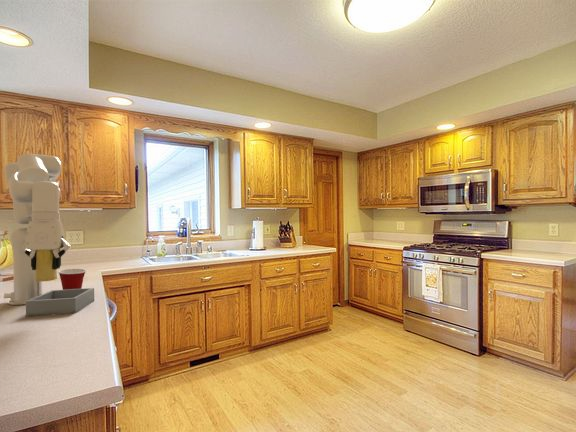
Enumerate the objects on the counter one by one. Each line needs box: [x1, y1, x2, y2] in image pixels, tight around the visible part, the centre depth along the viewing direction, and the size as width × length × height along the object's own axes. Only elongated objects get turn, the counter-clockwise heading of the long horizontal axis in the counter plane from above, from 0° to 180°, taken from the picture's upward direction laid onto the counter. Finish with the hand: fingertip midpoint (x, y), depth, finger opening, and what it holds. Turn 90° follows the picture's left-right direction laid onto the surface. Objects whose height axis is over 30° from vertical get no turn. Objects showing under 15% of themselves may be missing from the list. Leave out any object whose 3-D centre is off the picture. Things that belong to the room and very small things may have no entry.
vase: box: [35, 250, 58, 282], centre depth 109 cm, size 6×6×14 cm
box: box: [25, 287, 95, 317], centre depth 124 cm, size 16×18×6 cm
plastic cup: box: [57, 268, 87, 290], centre depth 143 cm, size 11×11×12 cm
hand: (46, 268), depth 109 cm, fingers closed on vase, 5 cm apart
